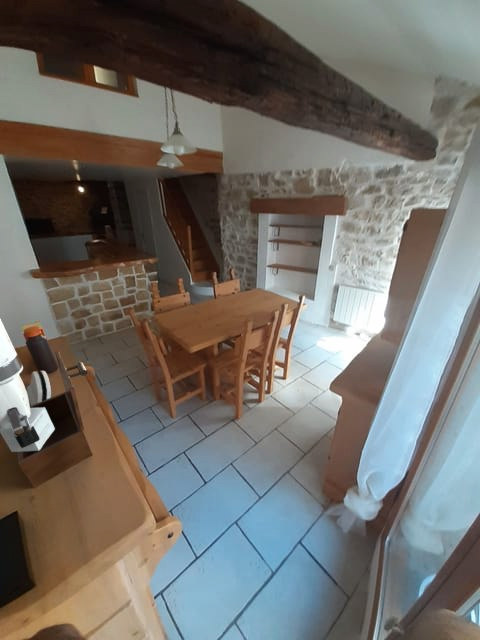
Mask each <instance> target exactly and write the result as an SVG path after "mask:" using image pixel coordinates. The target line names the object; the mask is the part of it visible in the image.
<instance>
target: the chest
mask: <svg viewBox="0 0 480 640" xmlns="http://www.w3.org/2000/svg"><path fill="white" fill-rule="evenodd" d="M32 408H45V409H46V411H47V413H48V415H49V417H50V419H51V422H52V424H53V426H54V428H55V429H54V431H53V432H52V434H51V435H50V436H49V438H48V439H47V440H46V442H45V443H44V445H43V446H42V447H41V449H40V450H39V451H21V452H16V453H17V461H18V465H19V467H20V469H21V470H22V472H23V473H24V475H25V476H26V478H27V479H28V481H29V483H30V484H31V486H32V487H33V488H34V489H35V488H37V487H39V486H41V485H42V484H44V483H46V482H47V481H49V480H51V479H53V478H55V477H56V476H58V475H60V474H62V473H63V472H65V471H67V470H68V469H71V468H72V467H74V466H76V465H77V464H80V462H83V461H84V460H86V459H88V458H90V457H92V456H93V453H92V450H91V447H90V445H89V442H88V439H87V437H86V435H85V432H84V430H82V431H81V430H80V428H79V425H78V422H77V420H76V417H75V415H74V412H73V409H72V407H71V404H70V401H69V399H68V396H67V394H66V391H64V392H61V393H59V394H57V395H54V396H51V398H49V399H47V400H44V401H42V402H39V403H37V404H34V405H32Z"/></svg>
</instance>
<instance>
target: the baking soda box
mask: <svg viewBox="0 0 480 640" xmlns="http://www.w3.org/2000/svg"><path fill="white" fill-rule="evenodd" d="M20 326H21V327H20V328H21V332H22V335H23V338H24V339H25V342H26V341H27V339H28V338H27V337H26V336H25V334H24V330H25V329H27V328H29V327H34V326H37V327H39V328H40V331H41V335H43V336H45V337H46V334H45V332H44V329H43V327H42V324H41V322H40V320H39V321H35V322H31V323H27V324H23V325H20ZM46 338H47V337H46Z"/></svg>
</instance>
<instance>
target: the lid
mask: <svg viewBox="0 0 480 640" xmlns="http://www.w3.org/2000/svg"><path fill="white" fill-rule="evenodd" d="M54 354H55V356H56V357H55V358H56V362H57V365H58V369H59V372H60V376H61V379H62V385H63V388H64V392H66V394H67V396H68V399H69V401H70V404H71V407H72V409H73V412H74V415H75V417H76V420H77V422H78V425H79V428H80V430H81V431H82V430H83V431H84V430H85V428H84V423H83V420H82V415H81V411H80V407H79V403H78V399H77V395H76V390H75V387H74V384H73V382H72V378H75V377H78V376H82V377H85V376H87V374H88V370H87V367H86V366H85V364H84V363H83V362H81V361H79V362H77V363H76V364H75V365H72V366H68V367H66V365H65V363H64V361H63V359H62V356H61V354H60V352H59V350H57V351H56V350H55V352H54ZM75 369H77V372H74V373H71V374H69V371H72V370H75Z"/></svg>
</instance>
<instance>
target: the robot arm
mask: <svg viewBox="0 0 480 640" xmlns="http://www.w3.org/2000/svg"><path fill="white" fill-rule="evenodd" d="M23 370H24V366H23V363H22V361H21V359H20V357H19V355H18V353H17V351H16V349H15V347H14V345H13V341H12V340H11V339H10V336H9V334H8V332H7V330H6V328H5V325H4V323H3V321H2V319H1V318H0V428H6V427H8V426H9V423H10V425H11V428H12V431H13V433H14V436H15V438H16V440H17V442H18V443H19V445H20V447H21V448H24V447H26V446H28V445H31V444H33V443H35V442H37V441H39V440H40V439H39V436H38V434H37V432H36V430H35V428H34V426H32V427H31V424H30V421H29V419H28V418H29V417H30V415H31V412H30V408H32V406H31V404H30V402H29V399H28V395H27V388H26V386H25V384H24V382H23V379H22V378H21V375H20V374H21V373H22V372H23ZM19 415H23V416H24V417H22V418H20V417H19ZM23 420H25V423H26V425H27V426H23V425H22V423H21V421H23Z"/></svg>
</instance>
